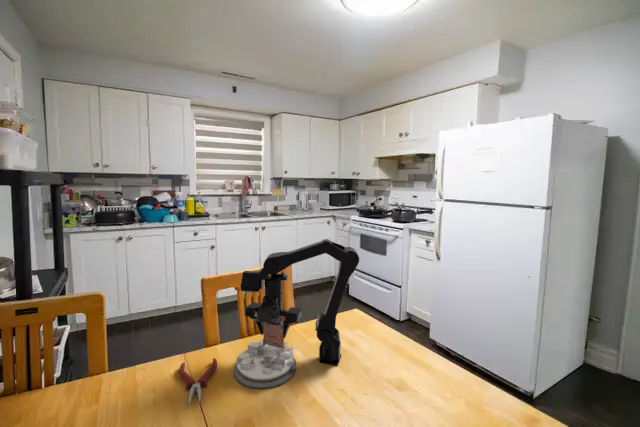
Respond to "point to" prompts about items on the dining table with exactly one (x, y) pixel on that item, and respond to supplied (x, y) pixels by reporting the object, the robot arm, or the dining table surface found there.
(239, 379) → the base plate
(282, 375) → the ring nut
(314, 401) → the dining table surface
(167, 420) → the dining table surface
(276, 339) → the lighter
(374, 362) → the dining table surface
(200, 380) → the pliers
